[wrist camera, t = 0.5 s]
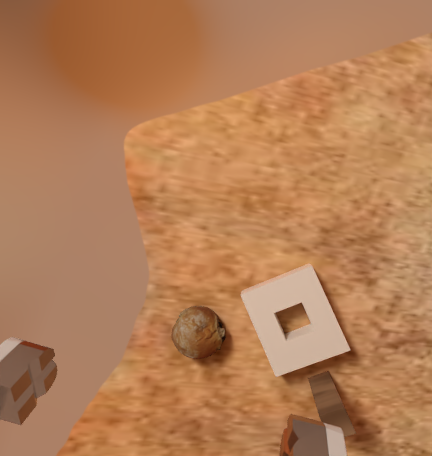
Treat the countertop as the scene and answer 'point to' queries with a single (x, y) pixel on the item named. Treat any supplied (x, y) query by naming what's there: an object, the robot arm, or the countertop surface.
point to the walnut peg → (330, 403)
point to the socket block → (300, 338)
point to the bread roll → (198, 332)
